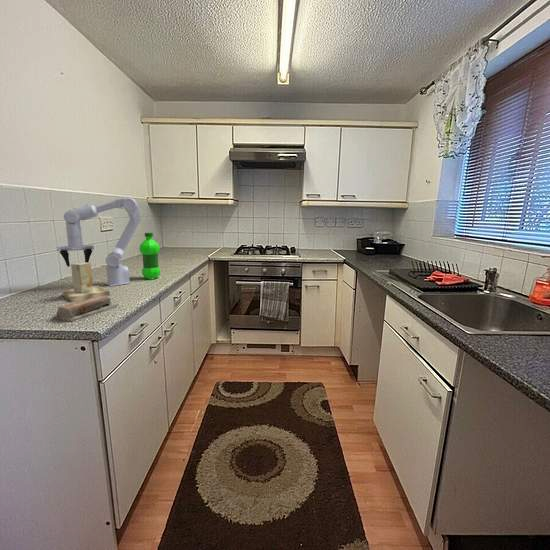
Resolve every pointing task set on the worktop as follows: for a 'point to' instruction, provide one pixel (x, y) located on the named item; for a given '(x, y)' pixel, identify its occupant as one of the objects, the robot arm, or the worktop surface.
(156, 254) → the plastic bottle
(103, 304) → the brown rectangular block
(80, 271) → the skincare box
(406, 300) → the worktop surface
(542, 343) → the worktop surface
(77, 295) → the wooden base
